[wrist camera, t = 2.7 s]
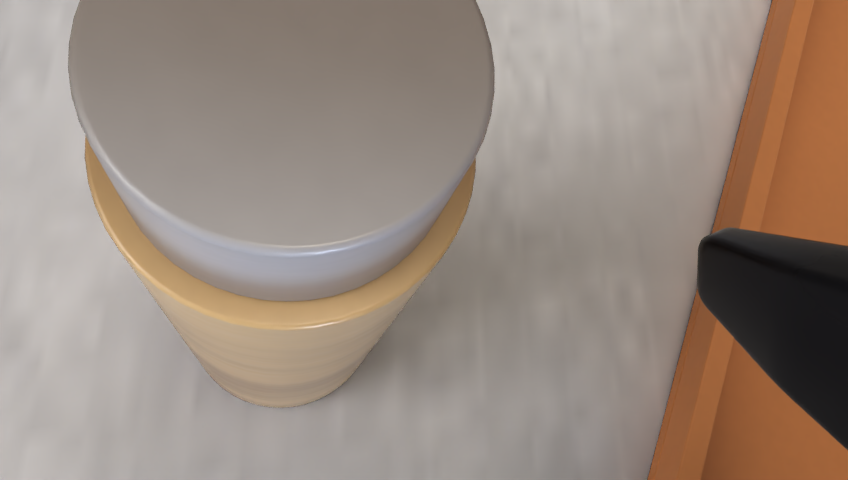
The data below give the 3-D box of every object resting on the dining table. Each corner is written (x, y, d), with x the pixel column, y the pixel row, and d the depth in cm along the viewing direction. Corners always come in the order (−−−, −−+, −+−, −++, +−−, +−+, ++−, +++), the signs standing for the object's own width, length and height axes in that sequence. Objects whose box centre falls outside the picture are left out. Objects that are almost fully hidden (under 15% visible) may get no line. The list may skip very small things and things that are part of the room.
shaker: (375, 405, 19) (544, 291, 7) (184, 410, 18) (-2, 287, 6) (371, 231, 21) (510, -124, 8) (194, 227, 20) (56, -174, 7)
